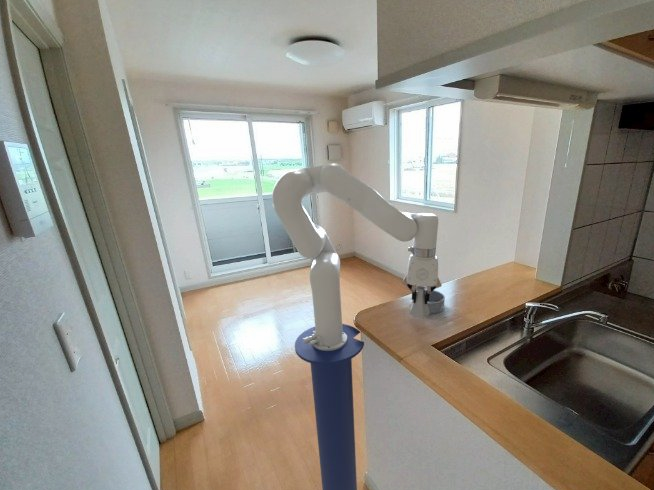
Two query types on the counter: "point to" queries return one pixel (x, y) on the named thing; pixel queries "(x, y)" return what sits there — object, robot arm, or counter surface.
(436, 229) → the robot arm
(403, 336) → the counter surface
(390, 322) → the counter surface
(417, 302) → the flask
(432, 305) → the bowl
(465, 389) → the counter surface
